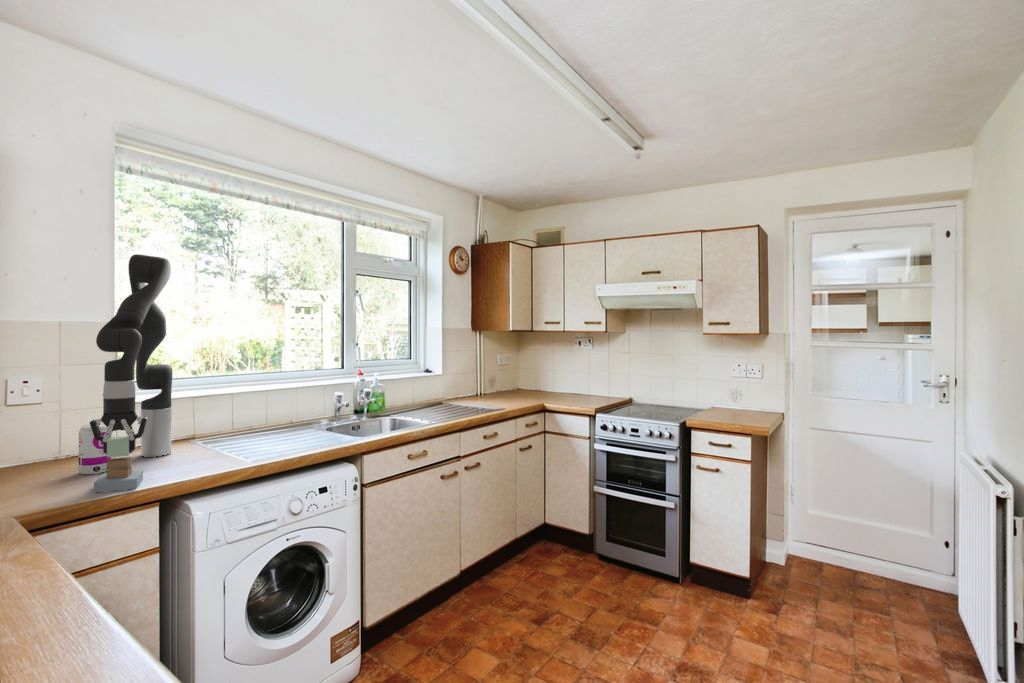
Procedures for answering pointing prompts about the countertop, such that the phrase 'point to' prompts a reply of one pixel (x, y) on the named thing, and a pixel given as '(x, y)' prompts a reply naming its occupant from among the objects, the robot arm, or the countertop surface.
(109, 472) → the walnut cube
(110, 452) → the sage cube
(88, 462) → the supplement can
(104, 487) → the slate base
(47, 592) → the countertop surface
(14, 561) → the countertop surface
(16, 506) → the countertop surface
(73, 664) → the countertop surface
